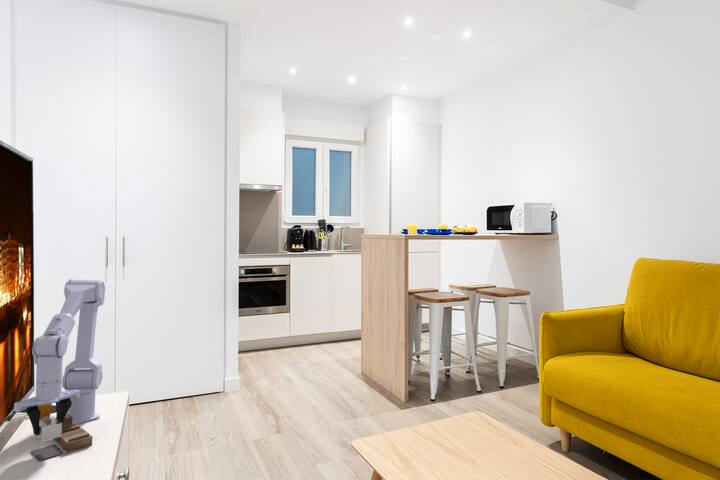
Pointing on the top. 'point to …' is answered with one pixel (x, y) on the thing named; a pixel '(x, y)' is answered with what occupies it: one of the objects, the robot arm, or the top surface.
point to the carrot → (45, 410)
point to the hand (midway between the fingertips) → (47, 430)
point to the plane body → (73, 436)
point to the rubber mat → (46, 452)
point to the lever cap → (49, 428)
